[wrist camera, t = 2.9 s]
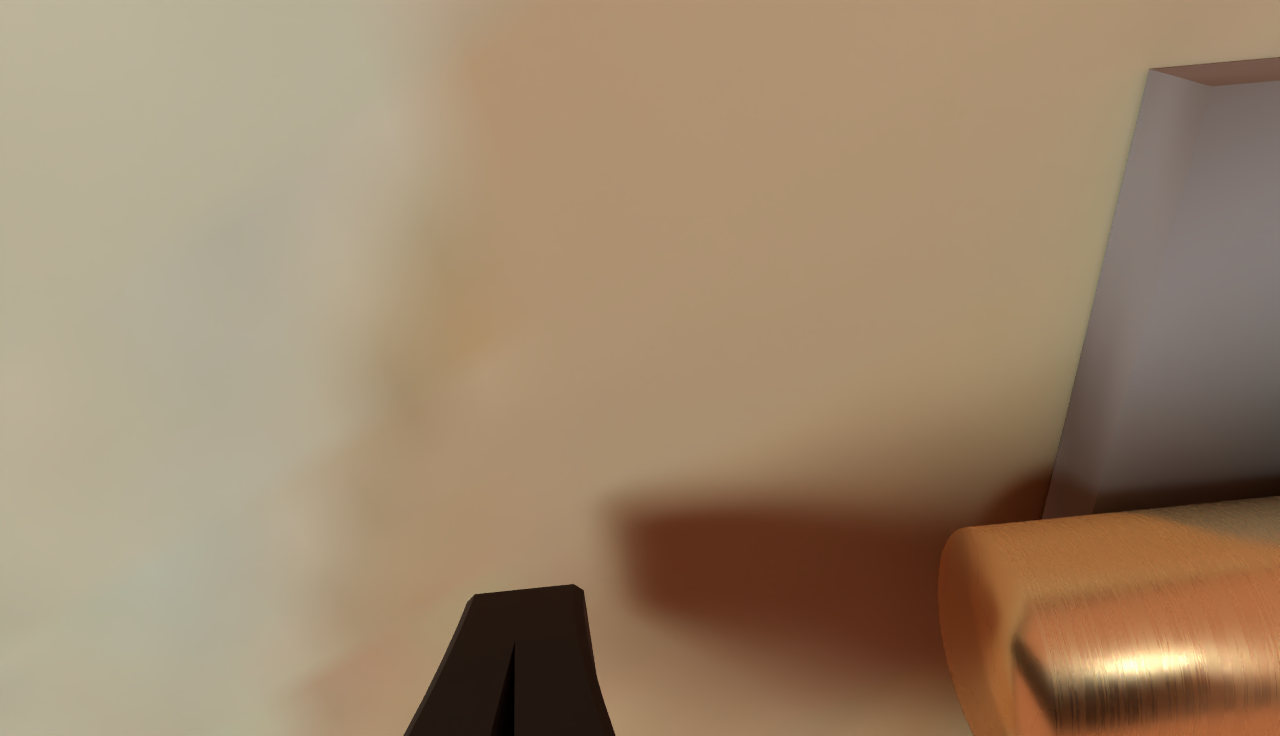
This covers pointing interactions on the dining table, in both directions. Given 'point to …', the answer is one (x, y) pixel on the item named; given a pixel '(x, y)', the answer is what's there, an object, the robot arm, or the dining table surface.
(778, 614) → the dining table surface
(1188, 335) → the bridge block
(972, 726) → the axle
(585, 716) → the robot arm
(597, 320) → the dining table surface
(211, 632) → the dining table surface
